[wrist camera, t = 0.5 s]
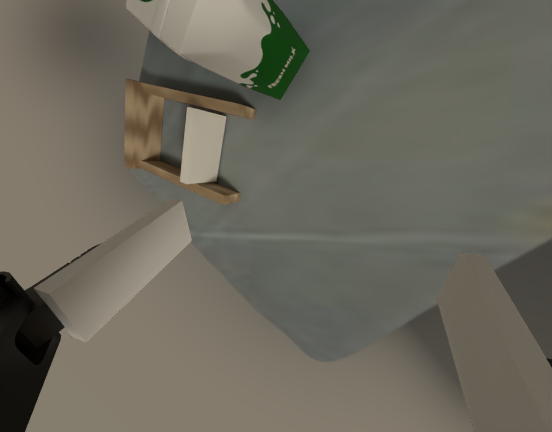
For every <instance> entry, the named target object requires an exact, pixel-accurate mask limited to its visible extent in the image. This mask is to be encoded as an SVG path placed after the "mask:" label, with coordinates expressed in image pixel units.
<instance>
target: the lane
mask: <svg viewBox="0 0 552 432" xmlns="http://www.w3.org/2000/svg"><path fill="white" fill-rule="evenodd" d="M164 98H166V99H170V100H174V101H178V102H182V103H187V104H191V105H195V106H199V107H203V108H207V109H211V110H215V111H219V112H223V113H228V114H232V115H236V116H240V117H244V118H248V119H252V120H254V118H255V113H256V109H253V108H250V107H247V106H244V105H241V104H237V103H233V102H228V101H223V100H219V99H214V98H210V97H205V96H200V95H196V94H191V93H187V92H182V91H178V90H173V89H168V88H164V87H159V86H155V85H150V84H145V83H142V82H139V81H135V80H131V79H126V99H125V100H126V101H125V155H124V166H126V167H129V168H142V169H144V170H146V171H148V172H151V173H153V174H155V175H157V176H160V177H162V178H164V179H166V180H169V181H171V182H173V183H175V184H178V185H180V186H182V187H184V188H187V189H189V190H191V191H193V192H196V193H198V194H200V195H202V196H205V197H207V198H209V199H211V200H214V201H216V202H218V203H220V204H223V205H225V204H229V203H233V202H238V201H239V197H240V193H239V192H236V191H234V190H231V189H229V188H226V187H224V186H221V185H219V184H216V183H214V182H205V183H194V184H185V183H183V182H180V175H181V169H179V168H177V167H174V166H172V165H169V164H167V163H164V162H162V161H160V153H161V139H162V124H163V109H164Z"/></svg>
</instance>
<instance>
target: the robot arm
mask: <svg viewBox="0 0 552 432" xmlns="http://www.w3.org/2000/svg"><path fill="white" fill-rule="evenodd" d="M191 241H192V240H191V236H190V232H189V228H188V224H187V219H186V215H185V211H184V207H183V203H182V201H181V200H176V199H169V200H167V201H166V202H164V203H163V204H161V205H160V206H158V207H157V208H155V209H154V210H152V211H151V212H149V213H148V214H146V215H145V216H143V217H141V218H140V219H139V220H137V221H135V222H134V223H132V224H131V225H129V226H128V227H126V228H125V229H123V230H122V231H120V232H119V233H117V234H116V235H114V236H112V237H111V238H109V239H108V240H106V241H105V242H103V243H101V244H99V245H97V246H94V247H92V248H91V249H89V250H87V251H86V252H84V253H83V254H81V256H80V257H77V258H75V259H73V260H72V261H71V263H67V264H66V265H64V266H63V267H61V268H60V269H58V270H56V271H55V272H53V273H52V274H50V275H49V276H47V277H46V278H44V279H43V280H41V281H39V282H38V283H36V284H35V285H33V286H32V287H30V288H28V289H26V290H25V291H24V290H23V288H22V287H21V286H20V285H19V284H18V283H17V281H16V280H15V279H14V278H13V276H12V275H11V274H10V273H8V272H0V432H25V430H26V428H27V425H28V422H29V420H30V417H31V415H32V412H33V410H34V407H35V404H36V402H37V399H38V397H39V394H40V391H41V389H42V386H43V384H44V381H45V378H46V376H47V373H48V371H49V368H50V366H51V363H52V361H53V358H54V355H55V353H56V350H57V348H58V345H59V342H60V339H61V335H60V333H59V331H60V330H62V329H63V328H64V327H65V328H66V330H67V331H68V332H69V333H70V335H71V336H72V337H74V338H77V339H79V340H81V341H84V342H87V341H88V340H89V339H90V338H91V337H92V336H93V335H94V334H95V333H96V332H98V331H99V329H100V328H102V327H103V326H104V325H105V324H106V323H107V322H108V321H109V320H110V319H111V318H112V317H113V316H114V315H115V314H116V313H117V312H118V311H119V310H120V309H121V308H122V307H123V306H125V304H127V303H128V302H129V301H130V300H131V299H132V298H133V297H134V296H135V295H136V294H137V293H138V292H139V291H140V290H141V289H142V288H143V287H144V286H145V285H146V284H147V283H148V282H149V281H150V280H151V279H152V278H153V277H155V276H156V274H158V273H159V272H160V271H161V270H162V269H163V268H164V267H165V266H166V265H167V264H168V263H169V262H170V261H171V260H172V259H173V258H174V257H175V256H176V255H177V254H178V253H179V252H180V251H182V250H183V249H184V248H185V247H186V246H187V245H188V244H189V243H190V242H191ZM437 301H438V305H439V309H440V312H441V316H442V319H443V323H444V326H445V330H446V334H447V337H448V341H449V344H450V348H451V351H452V355H453V358H454V362H455V366H456V369H457V372H458V376H459V380H460V383H461V387H462V390H463V394H464V398H465V401H466V405H467V408H468V412H469V415H470V419H471V423H472V426H473V429H474V432H552V359H548V358H546V357H545V356H544V354H543V352H542V351H541V349H540V347H539V346H538V344H537V342H536V341H535V339H534V337H533V336H532V334H531V332H530V331H529V329H528V327H527V326H526V324H525V322H524V320H523V319H522V317H521V316H520V314H519V312H518V311H517V309H516V307H515V305H514V304H513V302H512V300H511V299H510V297H509V295H508V294H507V292H506V291H505V289H504V287H503V285H502V284H501V282H500V280H499V279H498V277H497V275H496V274H495V272H494V270H493V269H492V267H491V265H490V264H489V262H488V260H487V259H486V257H485V256H482V255H476V254H471V253H465V252H461V254H460V256H459V258H458V260H457V262H456V263H455V265H454V267H453V269H452V271H451V273H450V275H449V276H448V278H447V280H446V282H445V284H444V286H443V288H442V289H441V291H440V293H439V295H438V297H437Z"/></svg>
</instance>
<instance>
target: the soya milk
mask: <svg viewBox="0 0 552 432" xmlns="http://www.w3.org/2000/svg"><path fill="white" fill-rule="evenodd" d="M126 8H127V9H128V10H129V11H130V12H131V13H132V14H133V15H134V16H135V17H136V18H137V19H138V20H139V21H140V22H142V23H143V24H144V25H145V26H146V27H147V28H148V29H149V30H150V31H151V32H152V33H153V34H154V35H155V36H156V37H157V38H158V39H160V40H161V41H162V42H163V43H164V44H165V45H167V46H168V47H169V48H170V49H172V50H173V51H174V52H176V53H177V54H178V55H180V56H181V57H183V58H184V59H186V60H188V61H190V60H191V61H193V62H195V63H197V64H198V65H200V66H202V67H204V68H206V69H208V70H210V71H213V72H215V73H217V74H219V75H221V76H223V77H225V78H228V79H230V80H232V81H234V82H236V83H238V84H240V85H243V86H245V87H248V88H250V89H253V90H255V91H258V92H261V93H263V94H266V95H269V96H272V97H274V98H277V99H281V98H282V96H283V94H284V93H285V91H286V89H287V88H288V86H289V84H290V83H291V81H292V79H293V78H294V76H295V74H296V73H297V71H298V69H299V68H300V66H301V64H302V63H303V61H304V59H305V58H306V56H307V54H308V53H309V49H308V48H307V46H306V45H305V43H304V42H303V41H302V39H301V38H300V36H299V35H298V33H297V32H296V30H295V29H294V28H293V26H292V25H291V23H290V22H289V20H288V19H287V18H286V16H285V15H284V14H283V12H282V11H281V10H280V8H279V7H278V6H277V5H276V4H275V2H274V1H273V0H127V2H126Z"/></svg>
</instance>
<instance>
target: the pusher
mask: <svg viewBox="0 0 552 432" xmlns="http://www.w3.org/2000/svg"><path fill="white" fill-rule="evenodd" d="M225 122H226V116H222V115H218V114H214V113H211V112H207V111H203V110H199V109H195V108H191V107H187V114H186V124H185V134H184V145H183V155H182V165H181V175H180V182H183V183H185V184H194V183H205V182H215V181H217V175H218V168H219V162H220V155H221V149H222V142H223V135H224V129H225Z"/></svg>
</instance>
